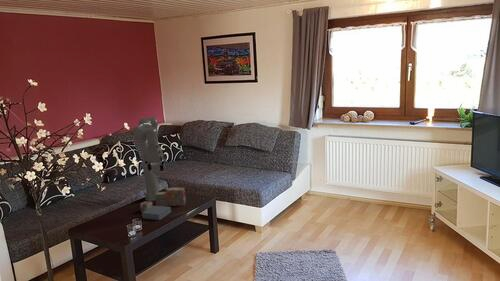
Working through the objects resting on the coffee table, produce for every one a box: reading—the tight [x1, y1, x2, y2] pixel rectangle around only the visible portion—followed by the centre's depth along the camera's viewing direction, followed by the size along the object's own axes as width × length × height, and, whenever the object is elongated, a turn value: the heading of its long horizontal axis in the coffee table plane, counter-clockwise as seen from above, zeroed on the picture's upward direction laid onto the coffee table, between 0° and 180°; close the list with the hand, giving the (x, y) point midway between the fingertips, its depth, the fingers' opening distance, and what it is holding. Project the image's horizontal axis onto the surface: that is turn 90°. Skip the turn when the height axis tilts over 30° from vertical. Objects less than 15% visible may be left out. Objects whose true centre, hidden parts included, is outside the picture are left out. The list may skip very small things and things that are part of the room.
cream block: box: [139, 200, 154, 213], centre depth 273 cm, size 6×6×6 cm
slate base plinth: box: [141, 205, 172, 221], centre depth 263 cm, size 14×14×4 cm
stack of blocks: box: [155, 187, 187, 207], centre depth 282 cm, size 21×6×12 cm, turn 85°
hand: (156, 170), depth 267 cm, fingers open, 9 cm apart
